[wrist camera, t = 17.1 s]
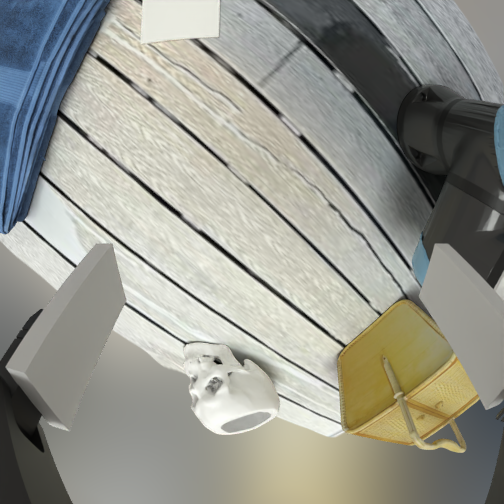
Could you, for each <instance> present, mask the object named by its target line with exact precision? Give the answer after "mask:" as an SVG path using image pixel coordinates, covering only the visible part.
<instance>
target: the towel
mask: <svg viewBox="0 0 504 504" xmlns="http://www.w3.org/2000/svg"><path fill="white" fill-rule="evenodd" d="M109 2H110V0H0V233H3V234H7V233H9V232H10V231H11V229H12V228H13V227H14V226H15V225H16V223H17V221H18V222H21V221H23V220H24V219H25V218H26V216H27V213H28V209H29V206H30V203H31V199H32V196H33V192H34V189H35V185H36V182H37V178H38V175H39V172H40V169H41V165H42V163H43V160H45V158H44V157H45V153H46V149H47V148H48V144H49V140H50V138H51V135H52V132H53V129H54V126H55V123H56V119H57V112H58V109H59V106H60V103H61V100H62V98H63V96H64V94H65V92H66V90H67V88H68V86H69V85H70V84H71V82H72V80H73V78H74V76H75V74H76V72H77V70H78V68H79V67H80V64H81V62H82V60H83V58H84V55H85V53H86V52H87V50H88V48H89V46H90V44H91V42H92V40H93V38H94V36H95V34H96V32H97V31H98V28H99V26H100V22H101V20H102V19H103V17H104V15H105V14H106V12H105V7H106V6H107V4H108V3H109ZM45 161H46V160H45Z"/></svg>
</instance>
